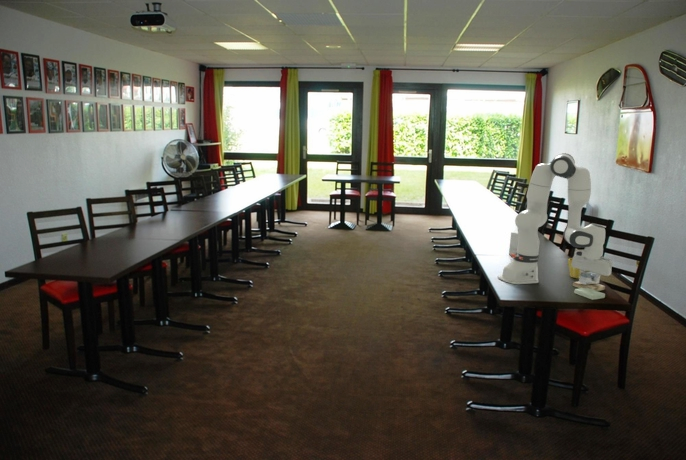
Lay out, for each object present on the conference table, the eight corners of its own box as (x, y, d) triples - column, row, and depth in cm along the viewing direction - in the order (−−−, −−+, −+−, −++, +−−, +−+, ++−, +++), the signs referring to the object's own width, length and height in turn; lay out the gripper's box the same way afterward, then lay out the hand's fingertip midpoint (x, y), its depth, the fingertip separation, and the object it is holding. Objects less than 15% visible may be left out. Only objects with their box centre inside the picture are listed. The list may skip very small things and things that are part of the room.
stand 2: (592, 299, 269) (593, 295, 268) (574, 293, 278) (574, 289, 278) (604, 297, 273) (605, 293, 273) (585, 291, 283) (586, 287, 282)
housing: (585, 284, 284) (587, 275, 283) (578, 282, 288) (579, 272, 287) (599, 283, 289) (600, 273, 287) (591, 280, 293) (593, 271, 291)
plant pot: (563, 276, 308) (565, 259, 306) (569, 273, 315) (572, 256, 313) (582, 280, 301) (584, 263, 299) (588, 277, 309) (590, 260, 307)
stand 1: (590, 292, 281) (591, 288, 281) (572, 285, 291) (573, 282, 290) (604, 289, 286) (605, 286, 286) (586, 283, 296) (587, 280, 295)
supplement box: (526, 254, 355) (528, 232, 352) (522, 257, 348) (525, 234, 345) (512, 252, 360) (514, 230, 357) (508, 254, 352) (510, 232, 349)
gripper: (615, 258, 279) (611, 283, 282) (577, 249, 295) (574, 273, 298) (610, 259, 275) (606, 285, 278) (571, 250, 291) (568, 275, 294)
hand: (589, 279), depth 288 cm, fingers closed on housing, 5 cm apart
